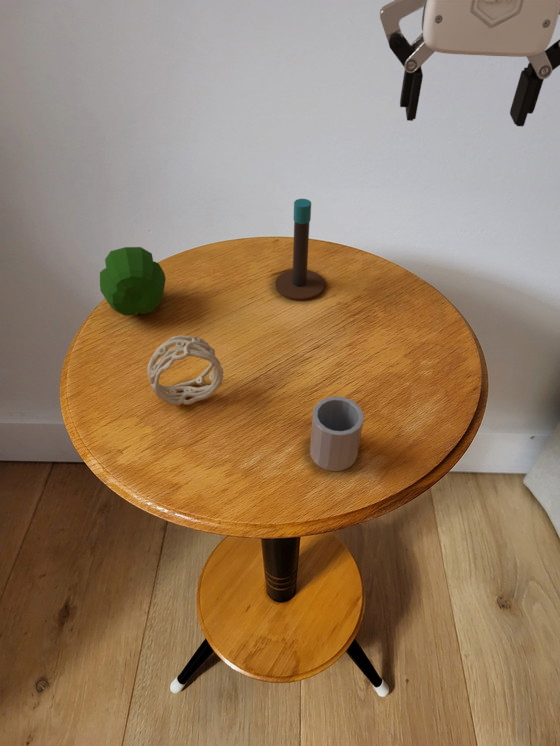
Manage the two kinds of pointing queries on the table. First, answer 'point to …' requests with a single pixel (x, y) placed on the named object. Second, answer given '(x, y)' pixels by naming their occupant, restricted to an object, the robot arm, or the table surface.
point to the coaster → (299, 293)
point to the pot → (336, 433)
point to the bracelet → (190, 349)
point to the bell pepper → (132, 281)
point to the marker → (301, 241)
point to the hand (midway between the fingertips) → (462, 117)
